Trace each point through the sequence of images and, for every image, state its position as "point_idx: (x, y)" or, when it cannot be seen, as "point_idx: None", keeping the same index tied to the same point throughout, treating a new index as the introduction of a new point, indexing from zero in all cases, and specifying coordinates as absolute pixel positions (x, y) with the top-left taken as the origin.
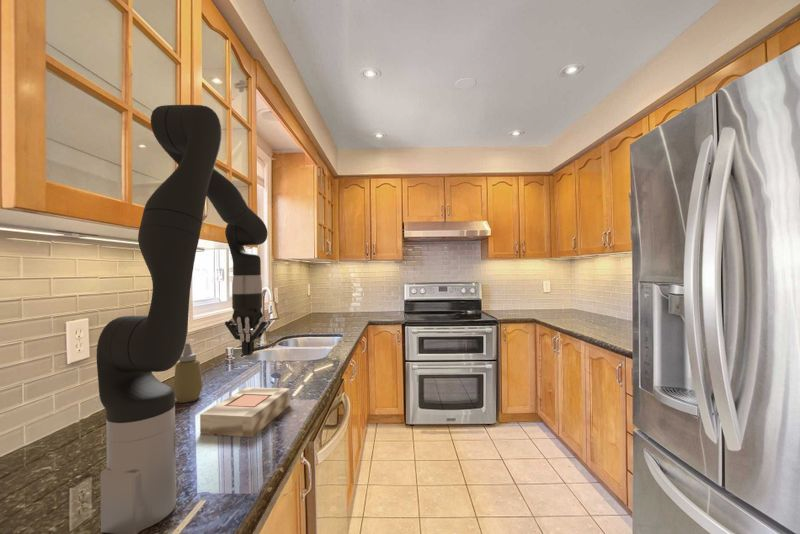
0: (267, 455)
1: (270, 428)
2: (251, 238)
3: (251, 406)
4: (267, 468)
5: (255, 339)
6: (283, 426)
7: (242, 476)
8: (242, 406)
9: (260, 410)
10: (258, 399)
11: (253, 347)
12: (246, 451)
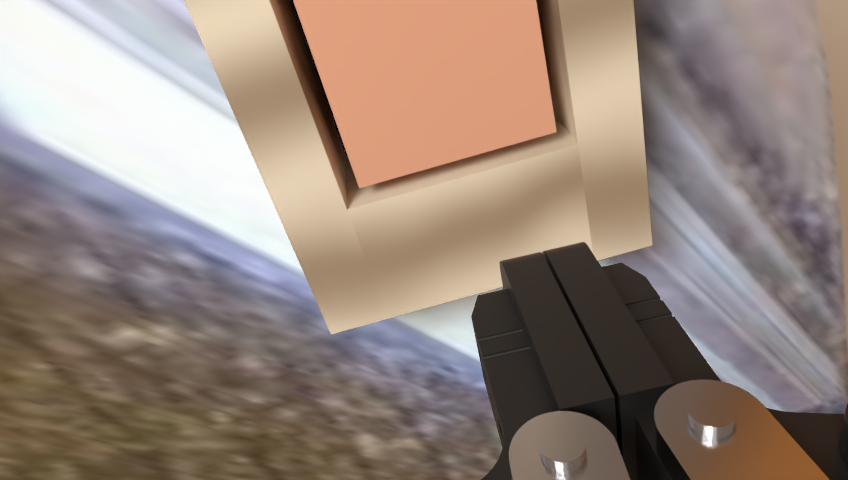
0: (770, 265)
1: (643, 82)
2: None
3: (537, 137)
4: (813, 317)
5: (813, 438)
6: (705, 32)
7: (752, 372)
8: (469, 155)
9: (644, 162)
10: (491, 17)
11: (669, 324)
12: (666, 278)
